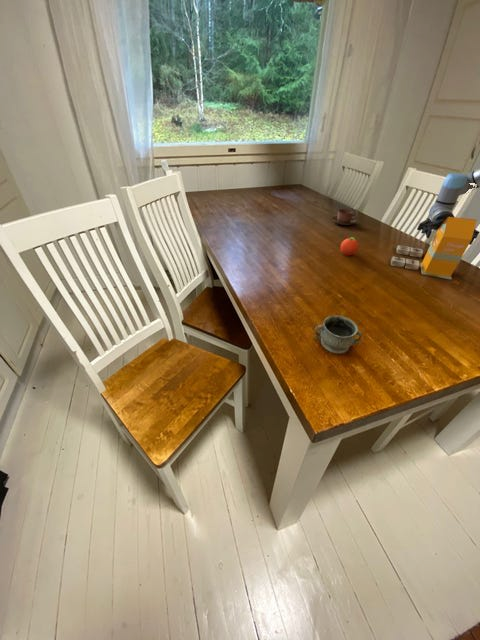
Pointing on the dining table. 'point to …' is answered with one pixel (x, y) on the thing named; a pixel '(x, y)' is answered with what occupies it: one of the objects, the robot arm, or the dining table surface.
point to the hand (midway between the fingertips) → (450, 237)
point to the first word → (409, 251)
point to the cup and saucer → (345, 217)
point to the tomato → (349, 246)
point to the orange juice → (448, 246)
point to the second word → (412, 266)
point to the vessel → (338, 334)
